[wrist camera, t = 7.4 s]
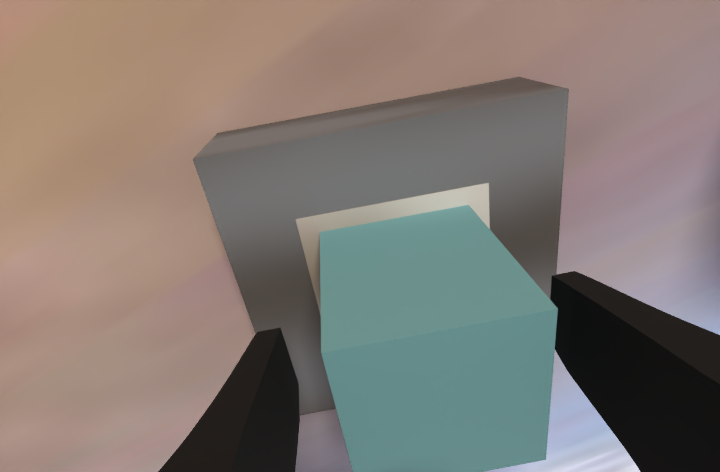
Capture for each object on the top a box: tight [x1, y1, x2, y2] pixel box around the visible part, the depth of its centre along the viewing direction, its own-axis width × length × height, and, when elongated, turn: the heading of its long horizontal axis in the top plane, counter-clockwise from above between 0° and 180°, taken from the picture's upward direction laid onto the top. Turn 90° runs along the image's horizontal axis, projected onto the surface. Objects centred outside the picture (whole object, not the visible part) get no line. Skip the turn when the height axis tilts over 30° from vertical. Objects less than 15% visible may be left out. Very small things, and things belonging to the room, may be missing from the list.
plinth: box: [193, 77, 569, 415], centre depth 14 cm, size 10×10×3 cm
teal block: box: [320, 205, 558, 472], centre depth 11 cm, size 4×4×5 cm
